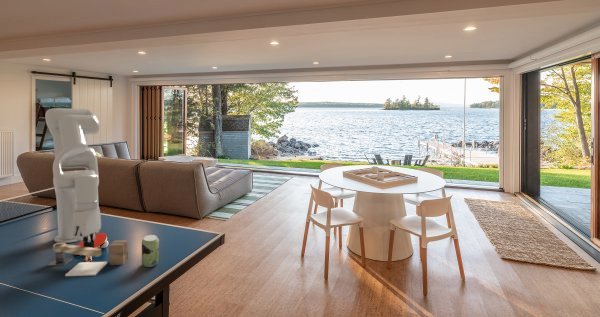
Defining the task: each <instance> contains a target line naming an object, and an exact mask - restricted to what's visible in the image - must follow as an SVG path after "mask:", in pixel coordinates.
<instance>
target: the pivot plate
mask: <svg viewBox="0 0 600 317" xmlns="http://www.w3.org/2000/svg"><path fill="white" fill-rule="evenodd" d="M72 260H73V257H66V258H65V260H64V261H62V262H56V258H55V259H54V260H52V261H51V262H49V263H48V264H47V265H46V266H48V267H51V266H52V267H53V266H54V267H55V266H57V267H59V266H61V267H62V266H65V265H67V264H68V263H69V262H71V261H72Z"/></svg>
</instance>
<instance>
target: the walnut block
mask: <svg viewBox="0 0 600 317" xmlns="http://www.w3.org/2000/svg"><path fill="white" fill-rule="evenodd" d="M108 247H109V248H108V249H109V252H108V253H109V265H110V266H117V265H118V266H119V265H120V266H121V265H125V264H126V263H127V261H129V241H128V240H125V239H123V240H113V241H112V242H111V243H110V244H109V245H108Z"/></svg>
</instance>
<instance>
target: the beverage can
mask: <svg viewBox="0 0 600 317" xmlns="http://www.w3.org/2000/svg"><path fill="white" fill-rule="evenodd" d="M159 246H160V239H159V238H158V236H157V235H156V234H147V235H145V236H144V237H143V239H142V241H141V265H142V266H143V267H146V268H151V267H152V268H153V267H155V266H156V265H157V264H158V263H159V260H160V259H159V257H160V256H159V252H160V248H159Z"/></svg>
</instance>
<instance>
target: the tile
mask: <svg viewBox="0 0 600 317" xmlns="http://www.w3.org/2000/svg"><path fill="white" fill-rule="evenodd" d="M107 264H108V261H85V262H81V261H80V262H79V263H77V264H76V265H75V266H74V267H72V269H69V271H68V272H67V273H65V275H64V276H65V277H83V276H84V277H85V276H87V277H88V276H96V275H97V274H99V272H100V271H101V270H102V269H104V268H105V267H106V266H107Z"/></svg>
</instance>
